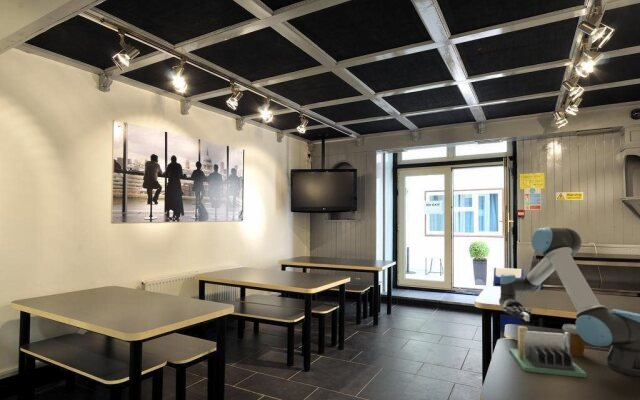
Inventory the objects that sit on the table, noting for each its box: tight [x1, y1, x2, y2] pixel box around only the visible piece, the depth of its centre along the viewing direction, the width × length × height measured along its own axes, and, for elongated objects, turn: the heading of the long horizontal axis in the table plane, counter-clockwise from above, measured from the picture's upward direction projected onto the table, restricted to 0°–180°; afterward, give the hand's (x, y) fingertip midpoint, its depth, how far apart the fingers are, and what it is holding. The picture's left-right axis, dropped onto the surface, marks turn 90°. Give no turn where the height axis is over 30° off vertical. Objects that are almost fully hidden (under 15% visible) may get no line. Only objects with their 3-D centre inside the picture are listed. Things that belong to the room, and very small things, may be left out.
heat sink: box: [517, 325, 574, 371], centre depth 154 cm, size 19×11×13 cm, turn 77°
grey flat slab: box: [524, 330, 564, 358], centre depth 158 cm, size 15×2×11 cm, turn 78°
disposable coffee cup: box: [561, 323, 586, 357], centre depth 170 cm, size 10×10×12 cm
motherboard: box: [508, 348, 587, 378], centre depth 158 cm, size 22×22×2 cm
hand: (527, 318), depth 171 cm, fingers closed
